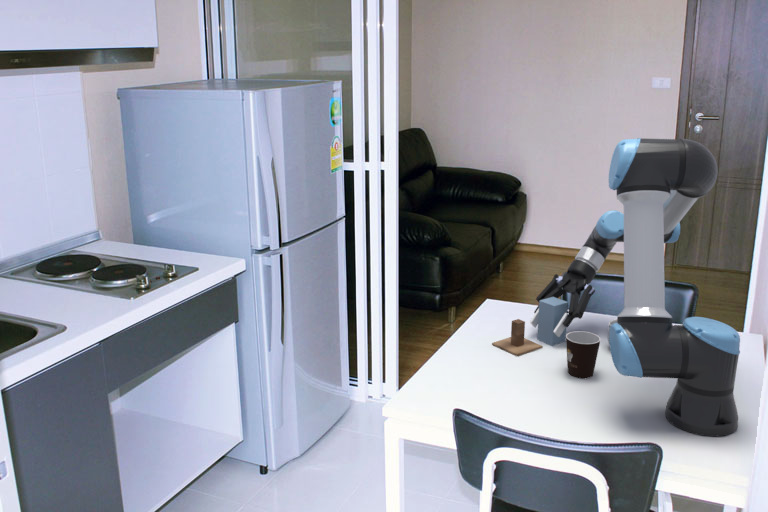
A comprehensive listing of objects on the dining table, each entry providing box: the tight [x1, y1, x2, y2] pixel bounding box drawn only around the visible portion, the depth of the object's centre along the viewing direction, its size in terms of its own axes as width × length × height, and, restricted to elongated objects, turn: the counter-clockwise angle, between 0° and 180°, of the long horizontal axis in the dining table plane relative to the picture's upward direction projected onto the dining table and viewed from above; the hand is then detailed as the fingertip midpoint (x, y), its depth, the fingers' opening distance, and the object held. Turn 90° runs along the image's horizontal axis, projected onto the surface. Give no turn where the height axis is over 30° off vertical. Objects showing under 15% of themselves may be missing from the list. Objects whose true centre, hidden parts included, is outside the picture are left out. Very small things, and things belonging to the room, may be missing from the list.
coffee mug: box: [565, 330, 601, 380], centre depth 187 cm, size 12×9×10 cm
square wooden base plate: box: [491, 318, 544, 357], centre depth 203 cm, size 10×10×8 cm
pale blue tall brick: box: [536, 297, 569, 347], centre depth 206 cm, size 6×6×12 cm
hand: (544, 329), depth 205 cm, fingers open, 8 cm apart
